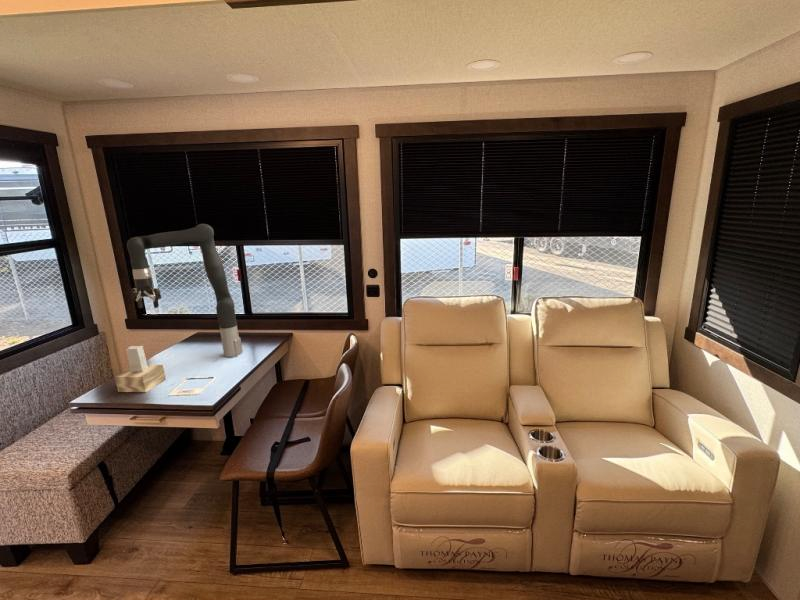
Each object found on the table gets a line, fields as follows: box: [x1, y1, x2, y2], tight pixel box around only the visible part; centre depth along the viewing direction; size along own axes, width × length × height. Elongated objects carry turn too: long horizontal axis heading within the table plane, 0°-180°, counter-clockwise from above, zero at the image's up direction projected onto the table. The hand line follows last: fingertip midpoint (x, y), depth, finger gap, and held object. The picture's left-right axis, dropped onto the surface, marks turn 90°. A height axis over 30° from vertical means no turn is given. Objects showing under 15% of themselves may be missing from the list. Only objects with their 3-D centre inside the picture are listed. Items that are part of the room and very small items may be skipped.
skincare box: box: [125, 345, 149, 372], centre depth 187 cm, size 6×4×12 cm
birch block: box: [114, 364, 167, 393], centre depth 190 cm, size 14×14×8 cm
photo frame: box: [167, 376, 217, 397], centre depth 188 cm, size 15×1×18 cm
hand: (148, 307), depth 202 cm, fingers open, 8 cm apart
